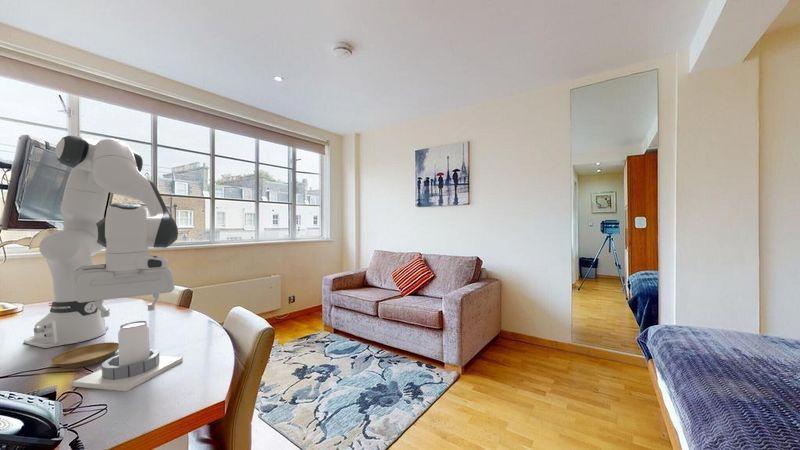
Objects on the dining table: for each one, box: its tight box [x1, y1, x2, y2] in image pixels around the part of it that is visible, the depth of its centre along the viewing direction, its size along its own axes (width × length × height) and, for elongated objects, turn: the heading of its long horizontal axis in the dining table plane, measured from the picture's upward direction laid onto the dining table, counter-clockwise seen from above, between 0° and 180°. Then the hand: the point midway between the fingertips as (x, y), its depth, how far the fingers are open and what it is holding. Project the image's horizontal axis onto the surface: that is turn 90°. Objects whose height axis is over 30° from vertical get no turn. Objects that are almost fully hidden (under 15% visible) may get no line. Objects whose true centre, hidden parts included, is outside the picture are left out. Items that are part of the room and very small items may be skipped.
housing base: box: [72, 348, 184, 392], centre depth 84 cm, size 16×16×4 cm
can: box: [117, 320, 151, 366], centre depth 85 cm, size 6×6×12 cm
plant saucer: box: [50, 341, 119, 370], centre depth 93 cm, size 15×15×3 cm
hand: (129, 313), depth 84 cm, fingers open, 8 cm apart
